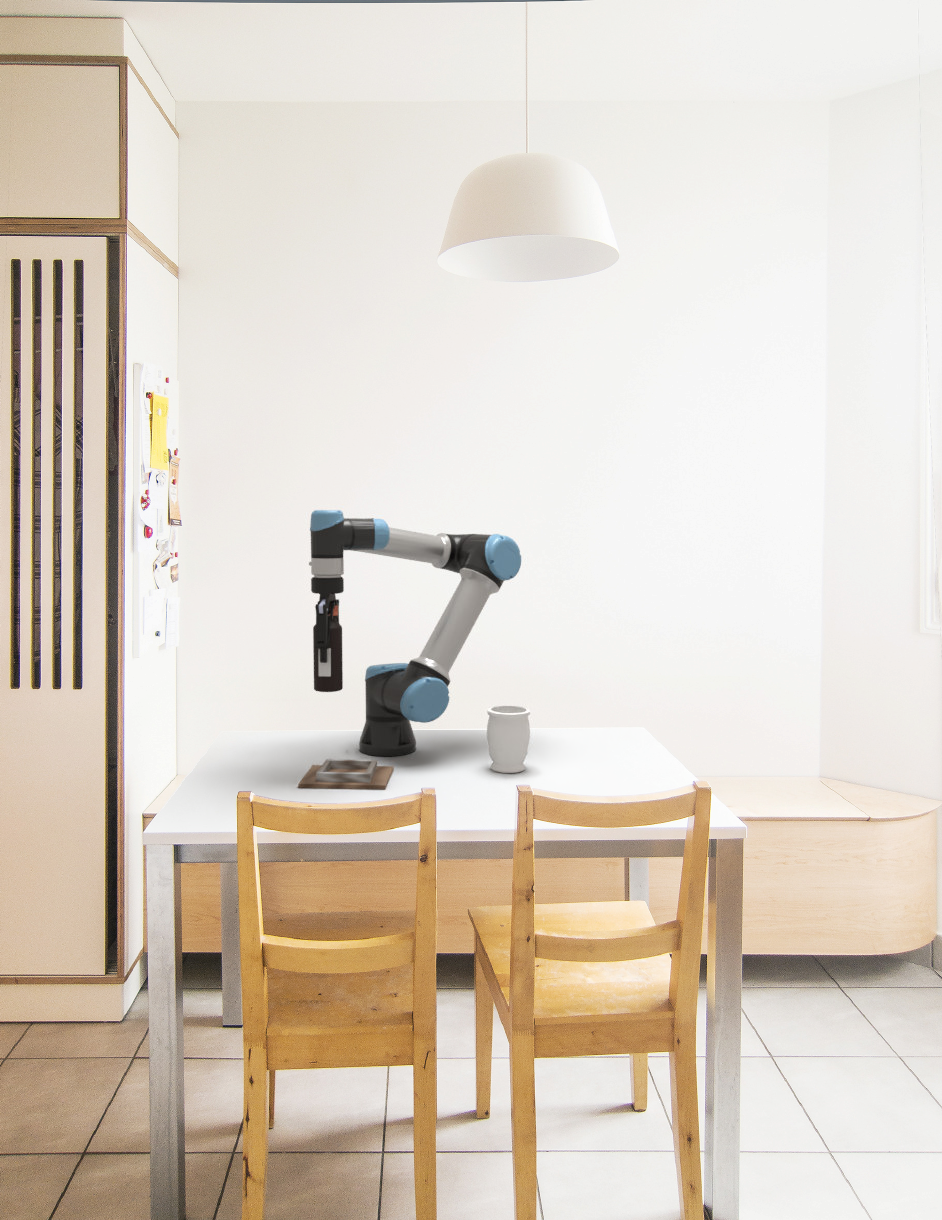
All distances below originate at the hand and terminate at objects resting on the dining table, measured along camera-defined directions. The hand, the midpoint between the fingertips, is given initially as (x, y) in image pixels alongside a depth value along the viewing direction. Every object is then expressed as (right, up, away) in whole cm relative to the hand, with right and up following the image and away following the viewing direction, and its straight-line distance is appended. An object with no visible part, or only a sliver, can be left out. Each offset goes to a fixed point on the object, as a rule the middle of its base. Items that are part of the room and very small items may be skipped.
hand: (328, 673), depth 218 cm
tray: (+5, -25, 0) cm, 25 cm away
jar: (+43, -25, +10) cm, 50 cm away
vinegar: (0, -4, 0) cm, 4 cm away
